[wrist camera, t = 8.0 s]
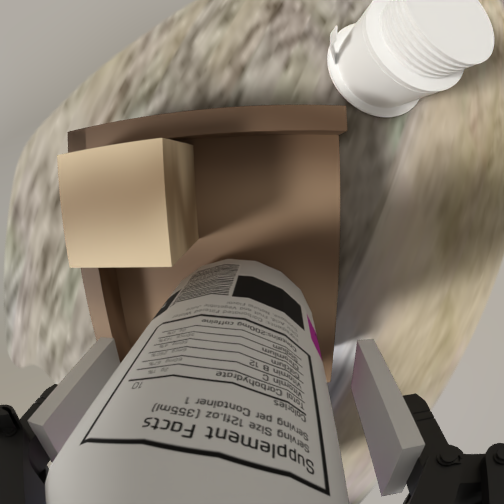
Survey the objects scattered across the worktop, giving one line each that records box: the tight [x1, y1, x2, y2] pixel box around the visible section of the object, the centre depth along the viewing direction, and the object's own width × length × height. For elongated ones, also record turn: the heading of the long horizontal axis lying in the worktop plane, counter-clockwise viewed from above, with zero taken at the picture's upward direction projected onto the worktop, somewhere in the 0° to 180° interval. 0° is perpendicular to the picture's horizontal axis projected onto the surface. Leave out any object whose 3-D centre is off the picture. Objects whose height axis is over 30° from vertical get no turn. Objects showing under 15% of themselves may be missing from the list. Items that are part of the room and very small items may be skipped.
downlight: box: [327, 0, 494, 117], centre depth 13 cm, size 8×7×10 cm
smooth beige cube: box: [57, 138, 199, 268], centre depth 15 cm, size 5×5×5 cm
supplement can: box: [45, 259, 349, 504], centre depth 11 cm, size 8×8×15 cm
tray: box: [68, 105, 347, 382], centre depth 19 cm, size 16×14×6 cm
